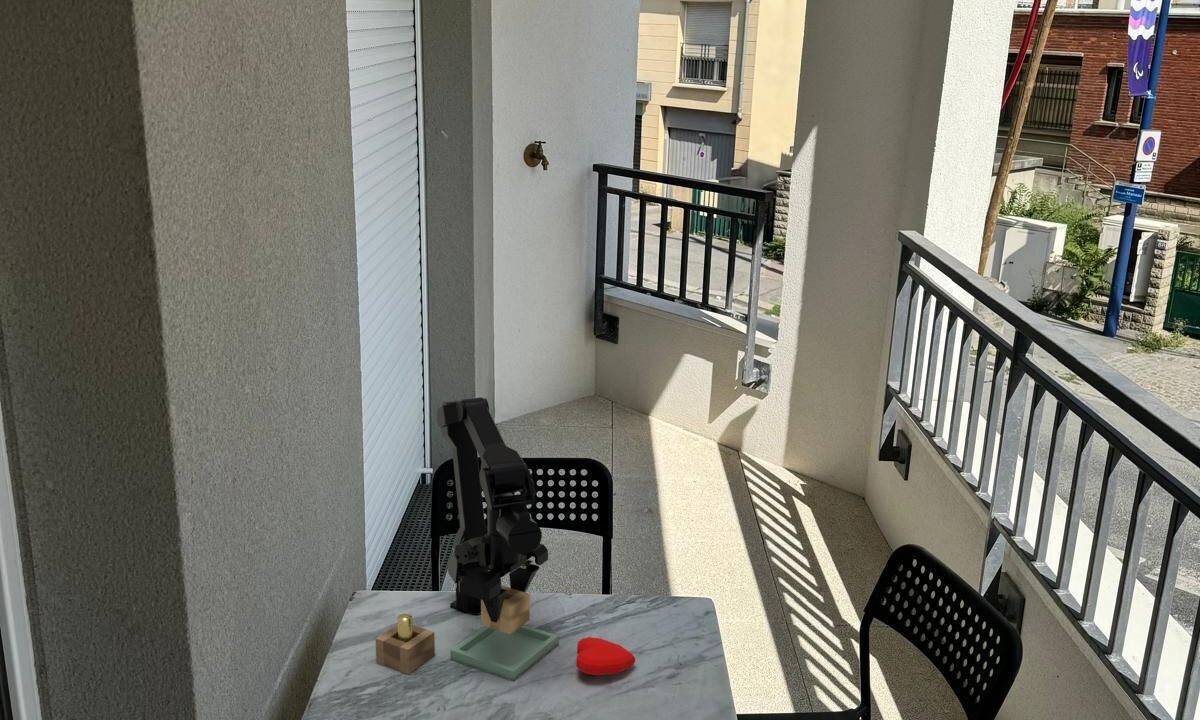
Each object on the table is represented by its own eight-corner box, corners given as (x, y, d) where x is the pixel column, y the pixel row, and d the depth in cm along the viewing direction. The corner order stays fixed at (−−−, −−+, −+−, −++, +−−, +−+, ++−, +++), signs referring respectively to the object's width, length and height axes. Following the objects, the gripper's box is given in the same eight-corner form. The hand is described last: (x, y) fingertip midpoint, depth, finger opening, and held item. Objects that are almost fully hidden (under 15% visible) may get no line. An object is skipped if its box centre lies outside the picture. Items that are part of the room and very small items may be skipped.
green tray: (498, 625, 199) (498, 616, 199) (558, 644, 193) (558, 635, 192) (450, 659, 187) (450, 650, 187) (513, 681, 181) (513, 671, 181)
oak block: (500, 611, 193) (501, 585, 191) (529, 620, 190) (530, 594, 189) (480, 624, 188) (481, 598, 186) (509, 634, 185) (510, 607, 183)
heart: (632, 660, 192) (576, 652, 192) (635, 636, 191) (579, 629, 191) (634, 686, 180) (574, 679, 180) (637, 661, 179) (577, 654, 179)
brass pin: (416, 658, 188) (414, 615, 185) (407, 664, 186) (405, 621, 183) (405, 654, 189) (403, 612, 187) (396, 660, 187) (394, 618, 185)
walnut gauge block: (403, 645, 192) (402, 621, 191) (434, 656, 188) (434, 631, 187) (376, 662, 186) (375, 638, 185) (408, 674, 182) (407, 649, 181)
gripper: (497, 501, 196) (498, 581, 200) (431, 538, 180) (433, 624, 184) (550, 515, 191) (549, 596, 195) (487, 554, 175) (487, 642, 179)
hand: (504, 613), depth 188 cm, fingers closed on oak block, 6 cm apart
